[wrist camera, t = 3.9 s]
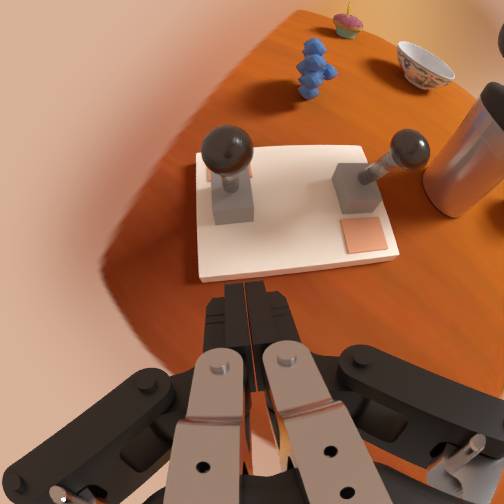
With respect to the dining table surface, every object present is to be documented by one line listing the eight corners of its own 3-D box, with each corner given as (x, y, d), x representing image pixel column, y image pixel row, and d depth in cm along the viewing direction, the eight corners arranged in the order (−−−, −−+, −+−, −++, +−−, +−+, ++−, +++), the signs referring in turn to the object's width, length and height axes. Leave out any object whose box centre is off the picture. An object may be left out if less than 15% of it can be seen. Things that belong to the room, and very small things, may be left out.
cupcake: (353, 44, 50) (362, 8, 39) (324, 32, 52) (331, -3, 41) (363, 38, 53) (372, 6, 41) (337, 27, 55) (344, -5, 43)
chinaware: (381, 73, 45) (391, 47, 38) (396, 59, 49) (405, 37, 42) (438, 109, 42) (452, 85, 35) (445, 89, 46) (456, 69, 39)
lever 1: (250, 200, 26) (258, 163, 15) (214, 204, 26) (199, 169, 15) (246, 167, 26) (252, 113, 15) (212, 170, 26) (196, 119, 15)
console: (391, 260, 30) (412, 244, 25) (202, 282, 28) (193, 268, 24) (356, 154, 35) (367, 131, 30) (198, 163, 34) (192, 137, 29)
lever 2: (380, 193, 26) (442, 165, 16) (352, 194, 26) (410, 163, 16) (374, 163, 27) (431, 125, 16) (347, 163, 26) (398, 119, 16)
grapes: (332, 122, 37) (351, 60, 26) (289, 114, 38) (299, 49, 27) (329, 84, 42) (341, 31, 30) (293, 77, 42) (300, 23, 31)
